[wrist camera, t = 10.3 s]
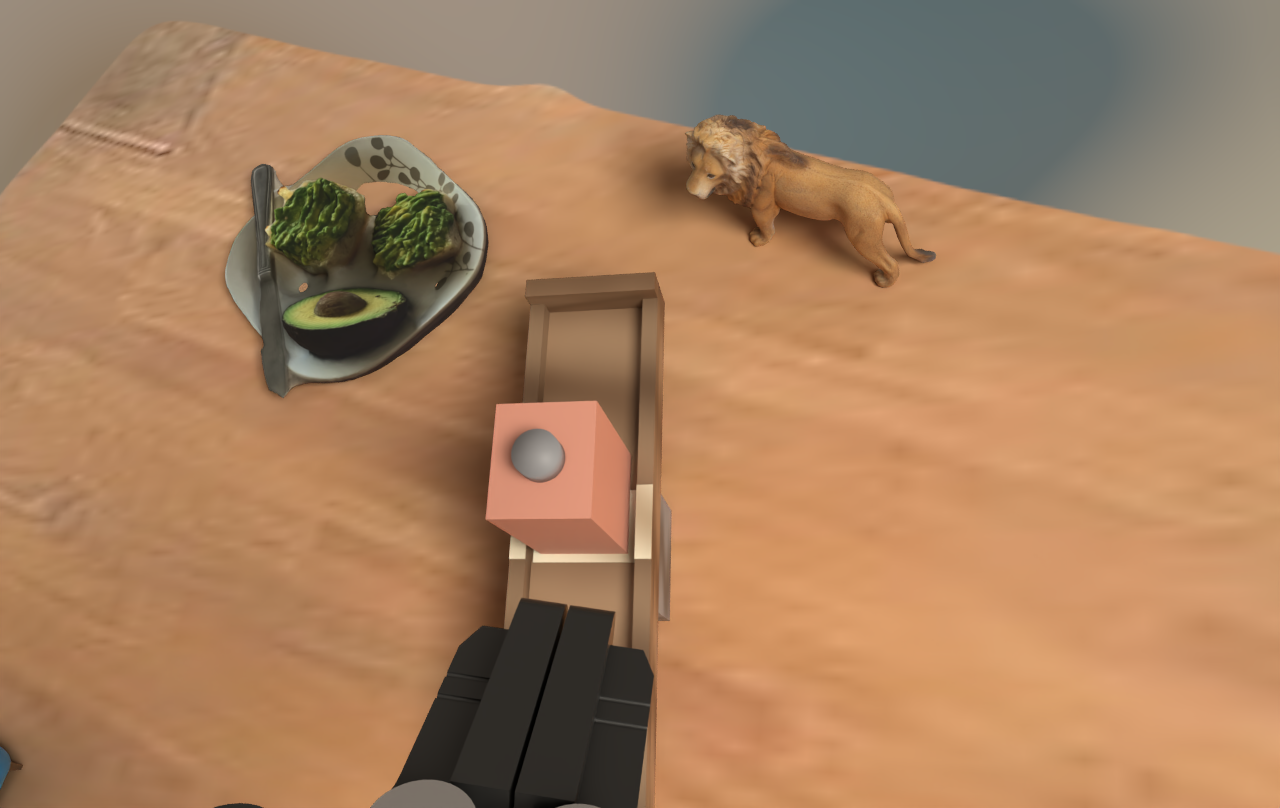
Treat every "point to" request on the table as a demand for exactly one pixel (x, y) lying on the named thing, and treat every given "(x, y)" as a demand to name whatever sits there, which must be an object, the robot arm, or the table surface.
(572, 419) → the rider
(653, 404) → the beam
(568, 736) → the robot arm
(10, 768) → the alarm clock
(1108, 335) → the table surface
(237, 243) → the salad plate
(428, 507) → the table surface
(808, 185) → the lion figurine
